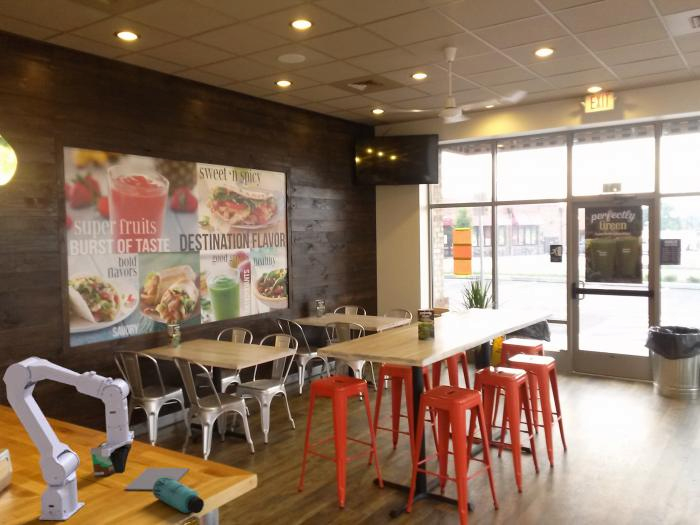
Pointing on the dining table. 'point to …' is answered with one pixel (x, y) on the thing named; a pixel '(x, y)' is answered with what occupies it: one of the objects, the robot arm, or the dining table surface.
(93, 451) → the food container
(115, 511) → the dining table surface
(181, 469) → the mat
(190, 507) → the beverage bottle
